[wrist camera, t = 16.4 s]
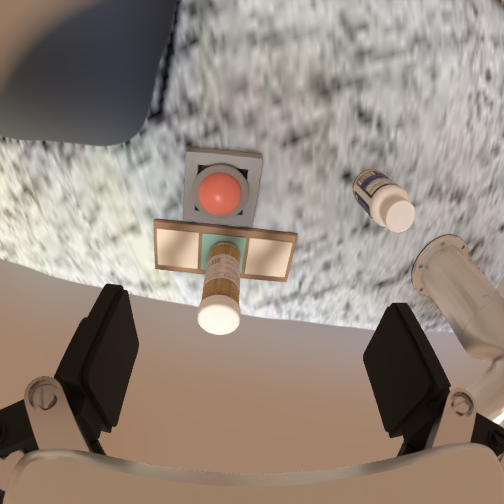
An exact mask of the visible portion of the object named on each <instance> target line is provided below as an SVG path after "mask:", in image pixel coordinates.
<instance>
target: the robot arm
mask: <svg viewBox="0 0 504 504" xmlns="http://www.w3.org/2000/svg"><path fill="white" fill-rule="evenodd" d="M412 282H413V285H414V287H415V289H416V290H417V291H418V292H419V293H420V294H422V295H424V296H431V297H432V299H433V300H434V302H435V303H436V305H437V306H438V308H439V309H440V311H441V312H442V314H443V315H444V317H445V318H446V320H447V322H448V323H449V325H450V326H451V328H452V330H453V331H454V333H455V335H456V336H457V338H458V340H459V341H460V343H461V344H462V346H463V348H464V349H465V351H466V352H467V353H468V354H469V355H470V356H472V357H474V358H476V359H480V360H486V361H492V364H491V366H490V367H489V368H488V369H487V370H486V371H485V372H484V373H483V374H482V375H481V376H480V377H479V378H478V379H477V380H476V381H474V382H473V383H472V384H471V385H470V386H469V387H468V388H466V389H465V390H464V389H461V388H456V389H453V390H452V391H451V392H450V390H449V387H450V386H451V385H450V383H449V380H448V378H447V376H446V374H445V372H444V370H443V368H442V366H441V364H440V362H439V360H438V358H437V356H436V354H435V352H434V350H433V348H432V346H431V345H430V343H429V341H428V339H427V337H426V335H425V333H424V332H423V330H422V328H421V326H420V324H419V322H418V321H417V319H416V317H415V315H414V314H413V312H412V310H411V308H410V307H409V305H408V304H407V303H392V304H391V305H390V306H389V307H387V308H386V310H385V312H384V315H383V317H382V319H381V321H380V323H379V325H378V327H377V329H376V331H375V333H374V335H373V337H372V339H371V340H370V343H369V344H368V346H367V348H366V350H365V352H364V355H363V361H364V364H365V367H366V370H367V374H368V377H369V380H370V383H371V386H372V389H373V392H374V396H375V399H376V402H377V405H378V409H379V412H380V415H381V419H382V422H383V426H384V429H385V431H386V432H389V436H390V438H393V437H398V436H402V435H403V438H404V441H403V444H402V446H401V448H400V450H399V452H398V455H397V457H395V458H391V459H387V460H382V461H377V462H372V463H367V464H362V465H355V466H349V467H343V468H335V469H328V470H319V471H308V472H296V473H275V474H240V473H217V472H204V471H193V470H184V469H176V468H169V467H163V466H156V465H150V464H144V463H139V462H134V461H128V460H124V459H119V458H115V457H110V456H107V455H106V453H105V451H104V450H103V448H102V446H101V444H100V442H99V440H98V438H99V437H100V433H101V431H104V432H108V433H111V429H112V426H113V427H116V425H117V423H118V420H119V415H120V411H121V408H122V404H123V401H124V397H125V393H126V390H127V386H128V383H129V379H130V376H131V372H132V369H133V365H134V362H135V359H136V356H137V352H138V348H139V341H138V337H137V333H136V328H135V324H134V319H133V314H132V310H131V305H130V300H129V294H128V291H127V290H124V289H123V286H122V285H115V284H106V285H105V286H104V288H103V290H102V291H101V293H100V295H99V297H98V298H97V300H96V302H95V304H94V306H93V308H92V310H91V312H90V313H89V315H88V317H85V318H83V319H82V321H81V322H80V324H79V326H78V328H77V330H76V332H75V334H74V336H73V338H72V340H71V342H70V344H69V346H68V348H67V350H66V352H65V354H64V356H63V358H62V360H61V362H60V365H59V367H58V369H57V371H56V374H55V375H54V378H52V377H49V376H42V377H38V378H36V379H34V380H32V381H31V382H30V383H29V384H28V386H27V388H26V389H25V393H24V399H23V400H21V401H19V402H17V403H14V404H12V405H10V406H8V407H5V408H3V409H1V410H0V504H504V298H503V297H502V296H501V295H500V294H499V292H498V291H497V290H496V289H495V288H494V286H493V285H492V284H491V283H490V282H489V281H488V279H487V278H486V277H485V276H484V275H483V274H482V273H481V272H480V270H479V268H477V267H476V266H475V265H474V264H473V263H472V262H471V261H470V260H469V259H468V248H467V246H466V244H465V243H464V241H463V240H462V239H460V238H459V237H457V236H454V235H446V236H442V237H440V238H438V239H436V240H434V241H433V242H431V243H430V244H429V245H428V246H427V247H426V248H425V249H424V250H423V251H422V252H421V254H420V255H419V257H418V258H417V260H416V262H415V264H414V267H413V270H412Z"/></svg>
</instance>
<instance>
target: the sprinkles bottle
mask: <svg viewBox="0 0 504 504" xmlns="http://www.w3.org/2000/svg"><path fill="white" fill-rule="evenodd" d="M239 293H240V251H239V249H238V248H237V247H236V246H235V245H234V244H232V243H229V242H220V243H217V244H215V245H214V246H213V247H212V248H211V249H210V252H209V261H208V264H207V268H206V273H205V279H204V285H203V295H202V301H201V303H200V305H199V310H198V322H199V324H200V326H201V327H202V328H203V329H204V330H206V331H207V332H210V333H212V334H218V335H223V334H228V333H230V332H232V331H234V330H235V329H236V328H237V327H238V325H239V323H240V307H239Z"/></svg>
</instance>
